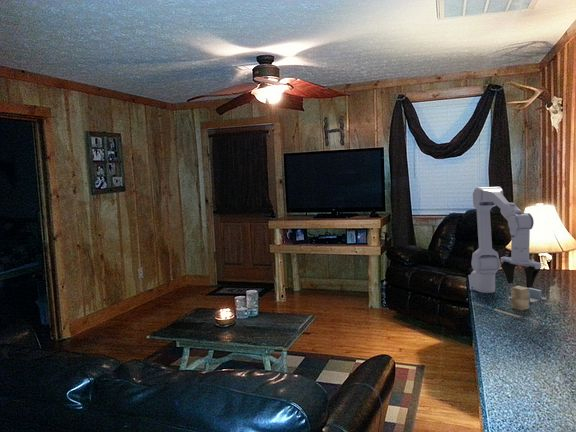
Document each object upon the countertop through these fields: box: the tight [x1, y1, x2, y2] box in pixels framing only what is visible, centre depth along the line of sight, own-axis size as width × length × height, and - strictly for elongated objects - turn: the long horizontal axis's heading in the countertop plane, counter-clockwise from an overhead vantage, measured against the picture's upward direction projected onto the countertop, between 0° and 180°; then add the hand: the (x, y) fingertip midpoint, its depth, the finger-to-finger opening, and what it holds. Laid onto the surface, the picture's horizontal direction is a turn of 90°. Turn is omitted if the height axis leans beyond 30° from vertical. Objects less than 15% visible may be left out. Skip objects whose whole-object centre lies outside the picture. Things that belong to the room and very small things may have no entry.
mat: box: [493, 308, 526, 319], centre depth 163 cm, size 10×14×1 cm
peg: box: [510, 285, 530, 311], centre depth 163 cm, size 4×4×8 cm
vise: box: [507, 286, 548, 304], centre depth 175 cm, size 9×11×4 cm
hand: (519, 285), depth 162 cm, fingers open, 7 cm apart
